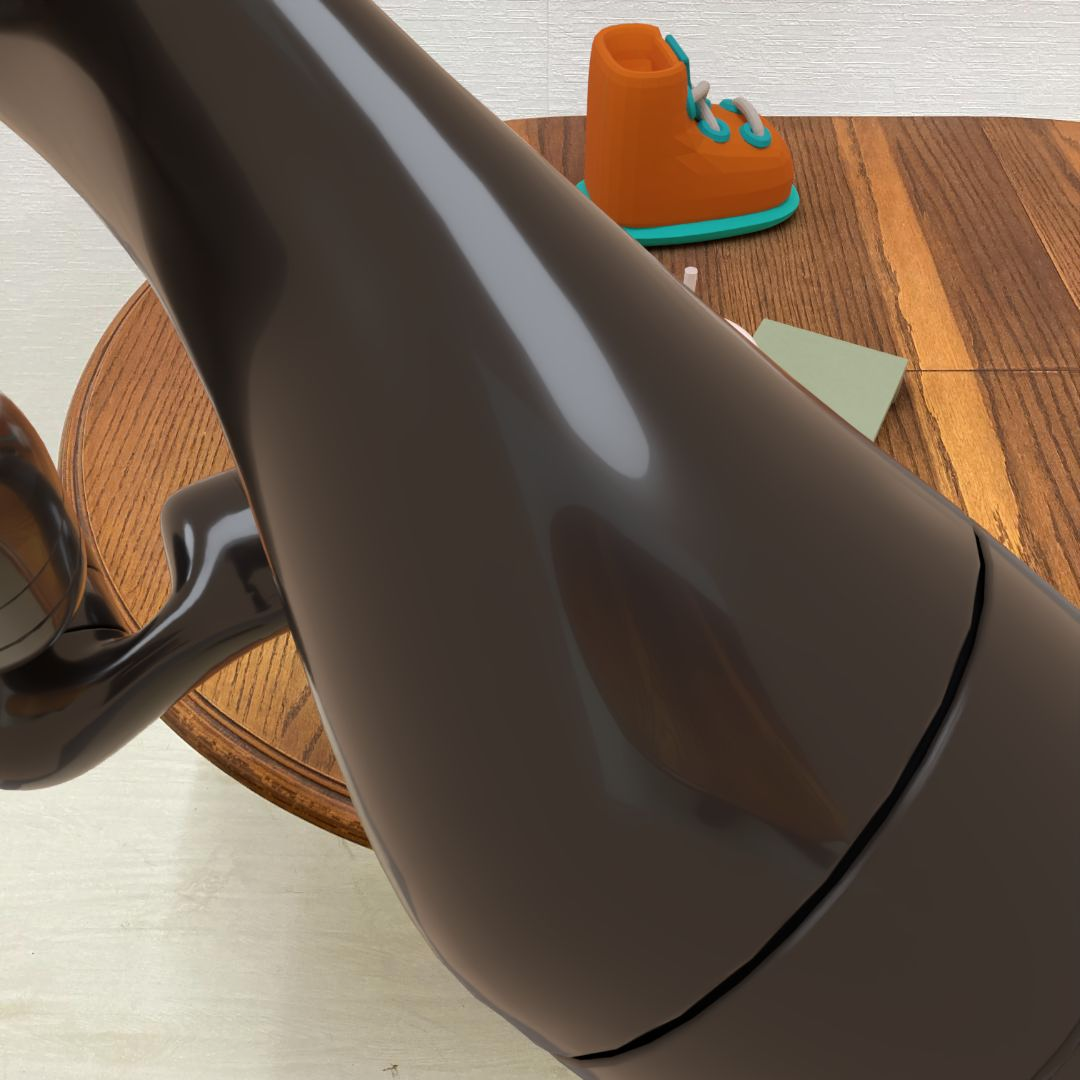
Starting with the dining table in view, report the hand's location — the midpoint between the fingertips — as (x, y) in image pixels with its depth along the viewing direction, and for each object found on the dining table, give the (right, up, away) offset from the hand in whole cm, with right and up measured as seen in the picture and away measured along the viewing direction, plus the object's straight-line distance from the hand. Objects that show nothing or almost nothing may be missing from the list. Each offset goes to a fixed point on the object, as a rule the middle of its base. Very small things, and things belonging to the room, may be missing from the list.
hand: (726, 362), depth 53 cm
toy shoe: (+4, +21, +46) cm, 50 cm away
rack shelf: (+9, -2, +25) cm, 27 cm away
